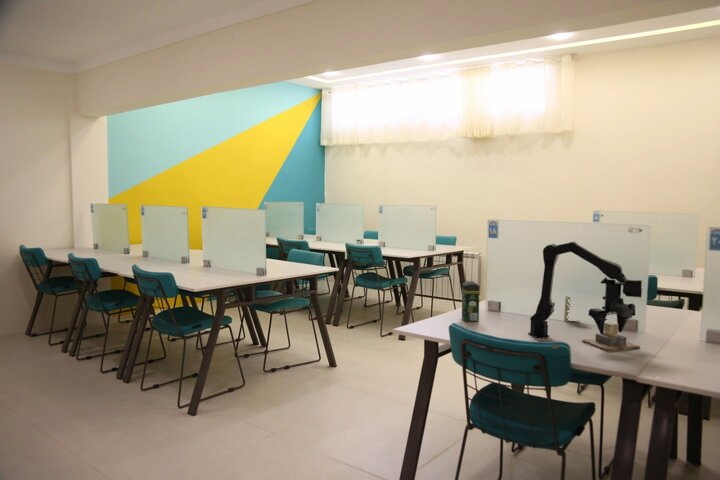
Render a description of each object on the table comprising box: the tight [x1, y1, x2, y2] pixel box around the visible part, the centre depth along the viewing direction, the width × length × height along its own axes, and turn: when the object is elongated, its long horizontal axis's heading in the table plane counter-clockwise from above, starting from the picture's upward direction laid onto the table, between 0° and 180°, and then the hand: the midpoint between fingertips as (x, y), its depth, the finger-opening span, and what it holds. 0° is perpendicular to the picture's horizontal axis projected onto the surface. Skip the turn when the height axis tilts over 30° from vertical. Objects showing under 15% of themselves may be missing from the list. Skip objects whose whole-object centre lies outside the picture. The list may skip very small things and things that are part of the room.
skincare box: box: [563, 295, 571, 322], centre depth 259 cm, size 6×4×12 cm
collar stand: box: [581, 332, 641, 353], centre depth 219 cm, size 16×14×4 cm
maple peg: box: [603, 321, 619, 338], centre depth 219 cm, size 4×4×8 cm
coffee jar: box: [461, 280, 481, 323], centre depth 260 cm, size 10×8×19 cm
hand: (611, 333), depth 219 cm, fingers open, 9 cm apart
